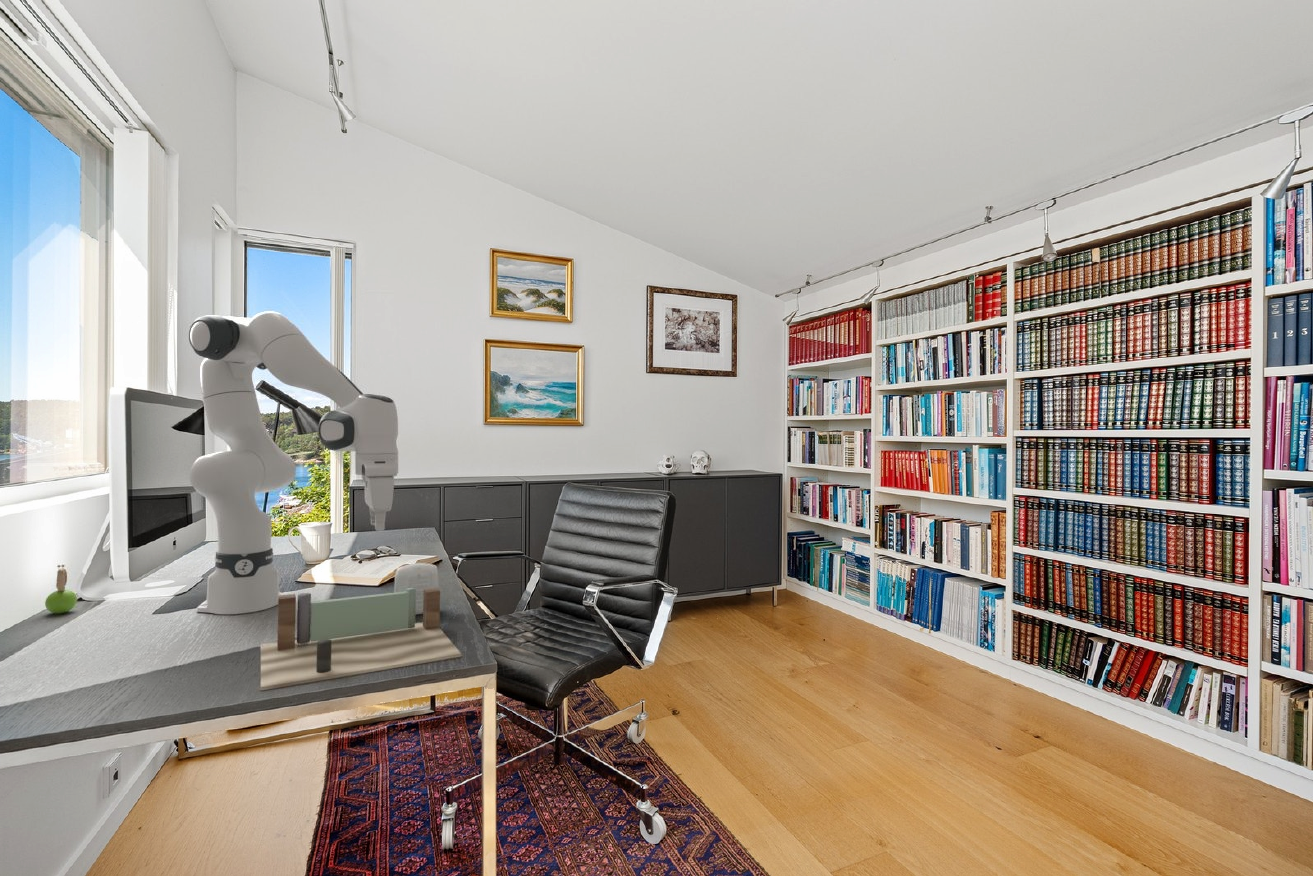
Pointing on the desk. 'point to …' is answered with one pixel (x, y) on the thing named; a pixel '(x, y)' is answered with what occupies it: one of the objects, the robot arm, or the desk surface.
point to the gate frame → (351, 648)
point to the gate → (354, 615)
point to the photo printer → (416, 580)
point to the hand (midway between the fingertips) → (377, 527)
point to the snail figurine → (61, 595)
